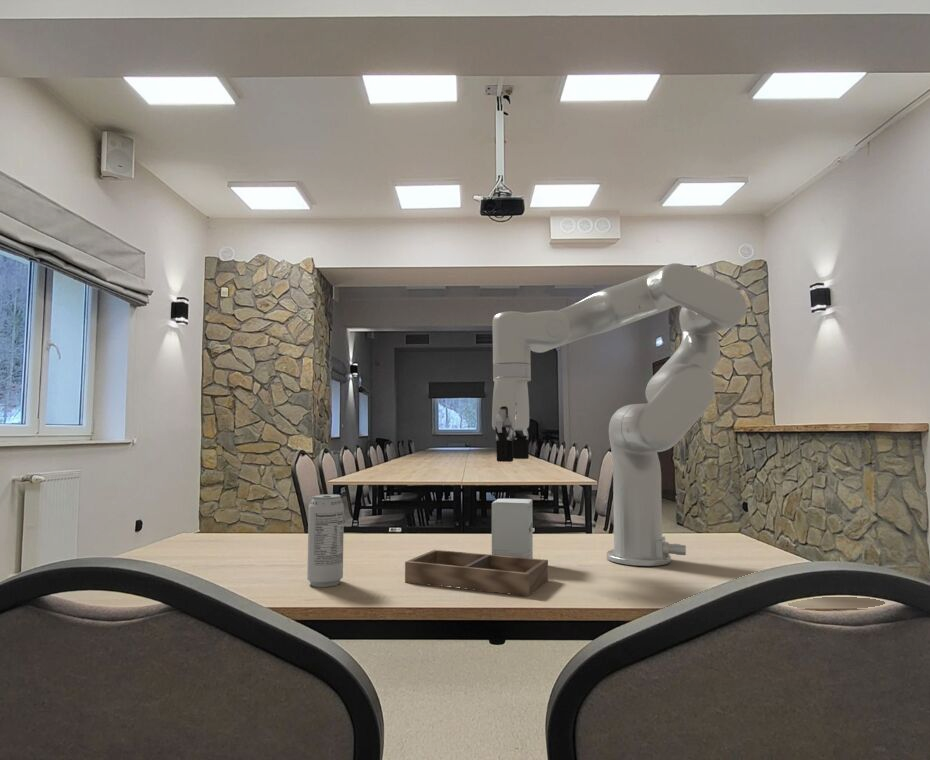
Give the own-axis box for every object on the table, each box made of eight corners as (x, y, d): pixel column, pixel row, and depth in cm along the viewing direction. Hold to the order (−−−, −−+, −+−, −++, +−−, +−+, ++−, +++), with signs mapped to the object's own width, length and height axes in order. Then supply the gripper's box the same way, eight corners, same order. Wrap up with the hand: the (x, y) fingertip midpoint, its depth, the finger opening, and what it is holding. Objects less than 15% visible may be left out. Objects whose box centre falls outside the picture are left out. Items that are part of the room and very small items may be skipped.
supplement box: (529, 570, 117) (528, 502, 118) (490, 568, 119) (490, 501, 120) (533, 562, 124) (533, 498, 125) (497, 560, 126) (497, 497, 127)
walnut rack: (548, 580, 110) (547, 559, 110) (528, 596, 99) (527, 574, 100) (434, 568, 119) (434, 549, 119) (404, 582, 108) (405, 561, 109)
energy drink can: (339, 577, 111) (341, 493, 112) (345, 586, 106) (346, 496, 107) (305, 580, 109) (306, 494, 110) (309, 589, 104) (310, 498, 105)
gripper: (508, 377, 134) (509, 457, 133) (478, 371, 118) (479, 462, 117) (542, 376, 131) (543, 458, 130) (516, 370, 115) (517, 463, 114)
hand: (513, 460), depth 123 cm, fingers open, 9 cm apart
